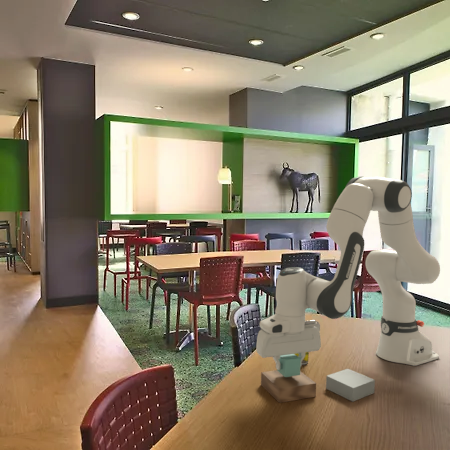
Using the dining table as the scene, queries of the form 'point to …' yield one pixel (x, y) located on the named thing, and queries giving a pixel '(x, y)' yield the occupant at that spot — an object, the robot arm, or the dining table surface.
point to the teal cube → (290, 365)
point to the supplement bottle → (304, 358)
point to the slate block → (350, 384)
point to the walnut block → (288, 386)
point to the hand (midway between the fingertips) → (288, 367)
